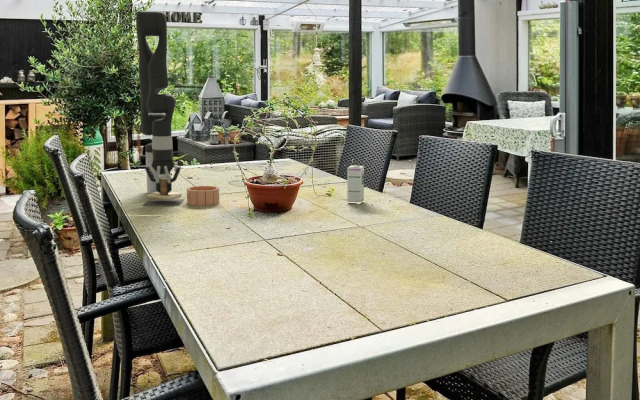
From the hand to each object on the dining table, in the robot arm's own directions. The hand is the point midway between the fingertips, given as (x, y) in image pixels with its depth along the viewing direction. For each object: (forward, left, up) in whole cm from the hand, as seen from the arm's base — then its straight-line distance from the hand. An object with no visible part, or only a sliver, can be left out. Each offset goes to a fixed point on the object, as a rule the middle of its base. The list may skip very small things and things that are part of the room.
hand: (164, 192), depth 248 cm
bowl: (0, +15, -4) cm, 16 cm away
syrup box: (-2, +74, -5) cm, 74 cm away
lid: (0, 0, -2) cm, 2 cm away
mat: (0, 0, -4) cm, 4 cm away
